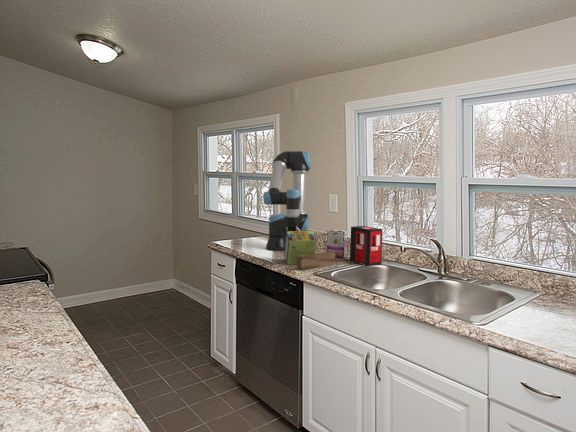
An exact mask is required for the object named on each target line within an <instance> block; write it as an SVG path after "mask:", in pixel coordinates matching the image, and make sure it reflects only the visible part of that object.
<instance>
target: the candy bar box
mask: <svg viewBox="0 0 576 432" xmlns="http://www.w3.org/2000/svg"><path fill="white" fill-rule="evenodd" d="M326 233H327V234H326V242H327V243H326V252H329V251H330V252H335V259H336V258H339V259H340V258H341V259H344V258H347V248H348V247H347V242H348V240H347V237H348V235H347V234H348V230H345V229H327V231H326Z"/></svg>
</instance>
